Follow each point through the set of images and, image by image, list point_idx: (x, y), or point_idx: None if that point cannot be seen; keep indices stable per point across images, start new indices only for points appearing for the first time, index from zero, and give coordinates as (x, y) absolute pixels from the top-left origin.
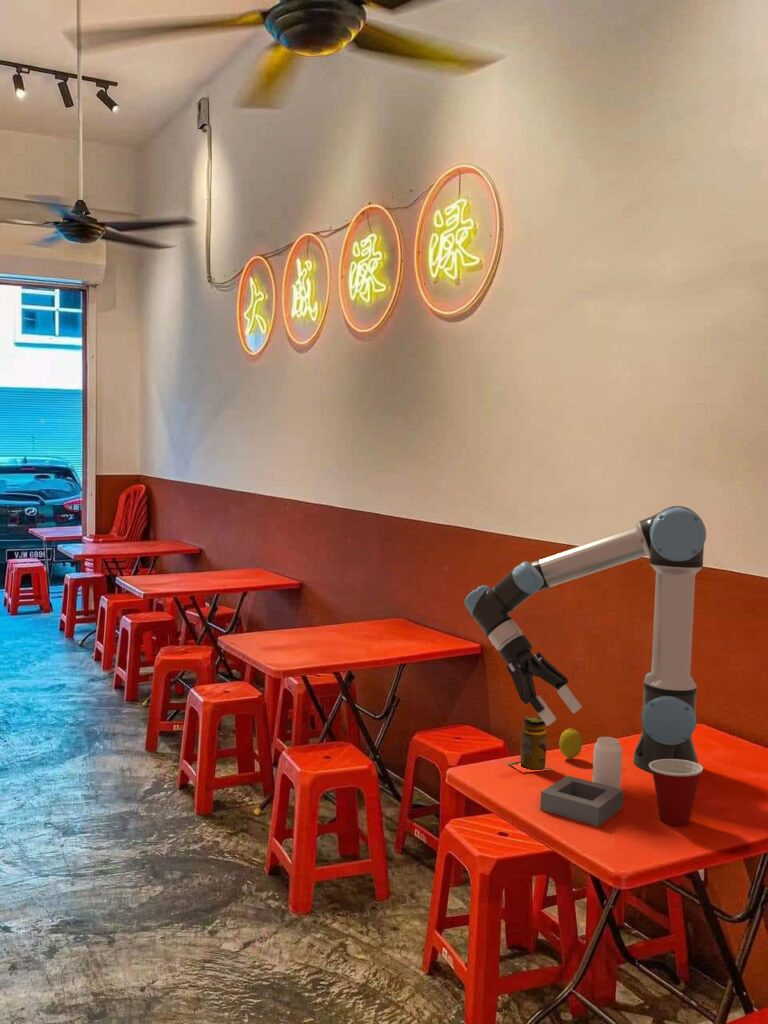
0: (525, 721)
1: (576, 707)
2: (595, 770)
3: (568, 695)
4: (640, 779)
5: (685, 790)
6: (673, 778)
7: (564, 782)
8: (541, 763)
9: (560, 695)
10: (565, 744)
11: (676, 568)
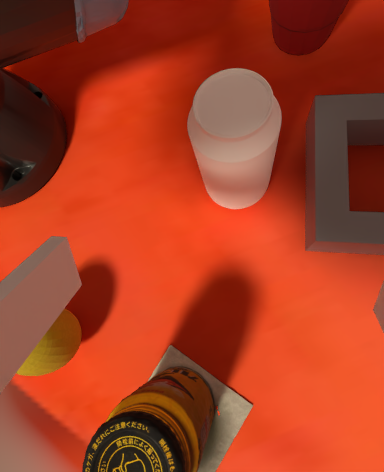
0: None
1: (65, 263)
2: (267, 174)
3: (10, 317)
4: (115, 156)
5: None
6: None
7: (379, 226)
8: (191, 373)
9: (4, 381)
10: (69, 344)
11: None
